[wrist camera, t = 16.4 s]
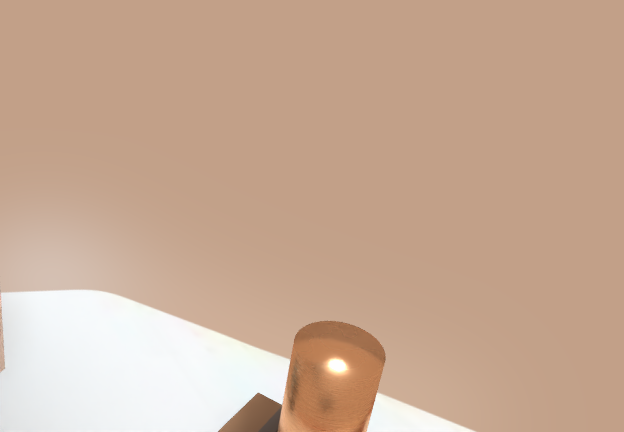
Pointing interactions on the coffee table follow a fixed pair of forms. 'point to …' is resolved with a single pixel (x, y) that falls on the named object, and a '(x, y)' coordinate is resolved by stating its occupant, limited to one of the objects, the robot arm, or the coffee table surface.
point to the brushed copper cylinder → (331, 379)
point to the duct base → (255, 416)
